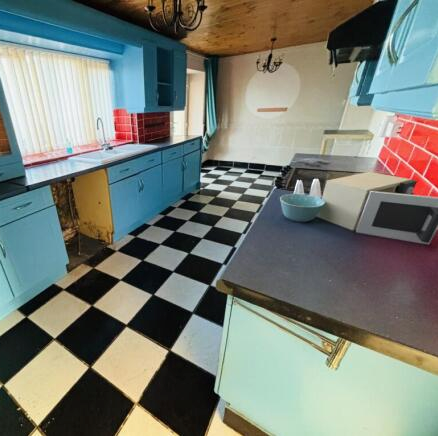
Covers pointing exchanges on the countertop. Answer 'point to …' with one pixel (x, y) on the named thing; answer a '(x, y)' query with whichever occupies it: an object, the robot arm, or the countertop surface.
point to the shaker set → (314, 190)
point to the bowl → (301, 206)
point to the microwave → (357, 195)
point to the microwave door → (400, 216)
